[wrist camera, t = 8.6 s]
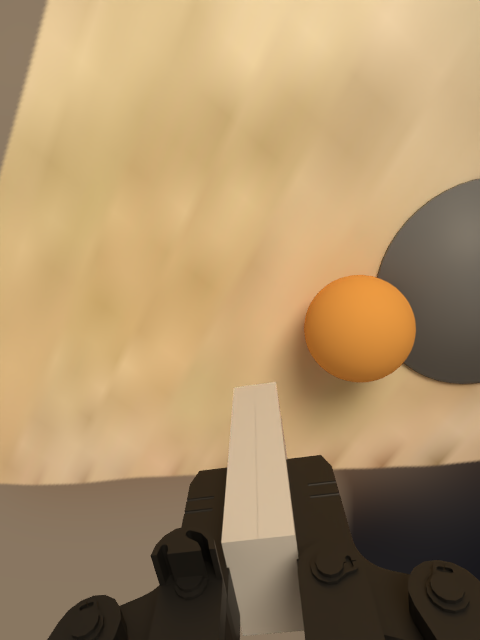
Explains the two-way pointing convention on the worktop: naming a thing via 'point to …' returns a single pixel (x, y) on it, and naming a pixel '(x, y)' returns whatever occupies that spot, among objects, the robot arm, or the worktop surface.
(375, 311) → the ball
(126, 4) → the worktop surface
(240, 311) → the worktop surface
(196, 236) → the worktop surface
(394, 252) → the disc
